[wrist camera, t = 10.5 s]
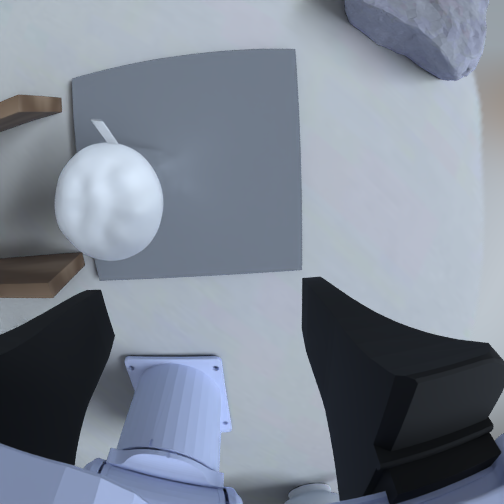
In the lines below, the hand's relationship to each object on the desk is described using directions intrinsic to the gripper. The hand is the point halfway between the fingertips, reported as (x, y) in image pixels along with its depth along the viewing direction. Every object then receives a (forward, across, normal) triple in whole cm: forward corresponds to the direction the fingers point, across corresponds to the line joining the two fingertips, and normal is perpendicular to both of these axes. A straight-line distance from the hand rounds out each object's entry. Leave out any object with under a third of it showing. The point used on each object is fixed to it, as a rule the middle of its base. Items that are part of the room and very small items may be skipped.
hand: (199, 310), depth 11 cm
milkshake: (+10, +3, -4) cm, 11 cm away
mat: (+10, +2, -4) cm, 11 cm away
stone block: (+11, -14, -16) cm, 24 cm away
